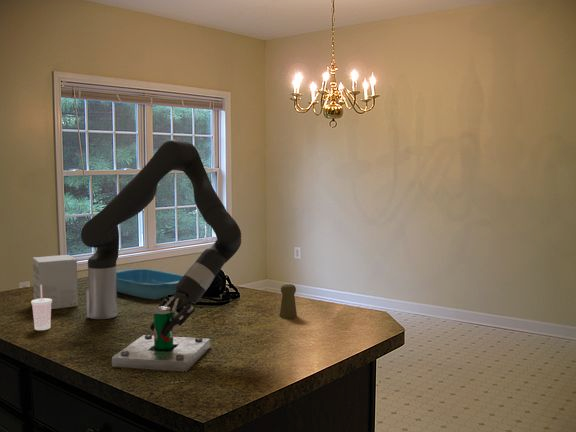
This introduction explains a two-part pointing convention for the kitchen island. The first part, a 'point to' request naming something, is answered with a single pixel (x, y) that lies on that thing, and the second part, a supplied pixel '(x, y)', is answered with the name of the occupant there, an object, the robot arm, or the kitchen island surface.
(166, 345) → the soda can
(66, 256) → the supplement box
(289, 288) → the cork
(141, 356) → the socket plate
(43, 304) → the beverage cup
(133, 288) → the casserole dish
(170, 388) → the kitchen island surface
